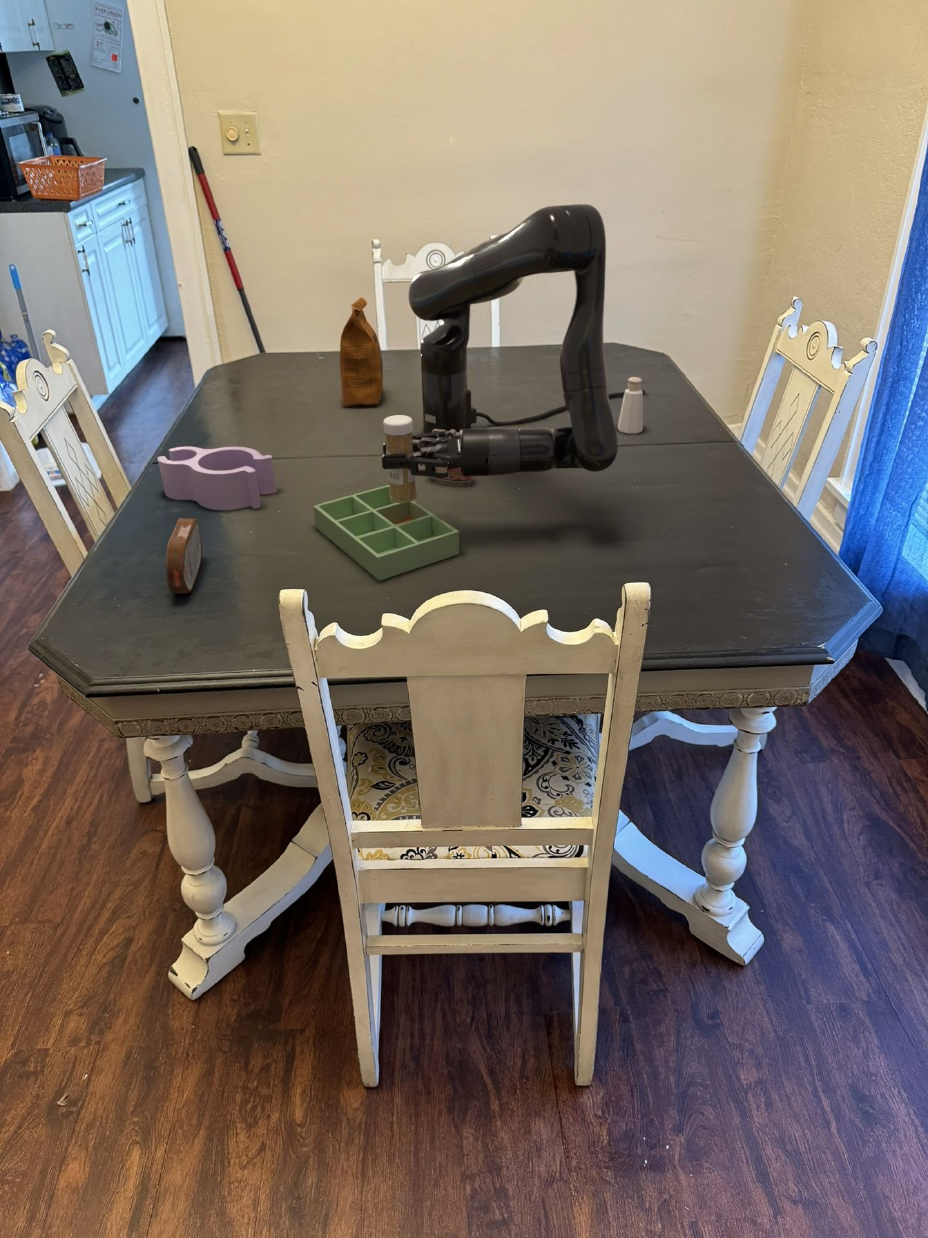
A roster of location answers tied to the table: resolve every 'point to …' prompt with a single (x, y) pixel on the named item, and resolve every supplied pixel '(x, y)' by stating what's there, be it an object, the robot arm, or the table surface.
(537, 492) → the table surface
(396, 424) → the sprinkles bottle
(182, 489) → the clip
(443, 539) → the organizer
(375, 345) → the coffee package
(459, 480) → the lighter
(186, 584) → the tin
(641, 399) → the pepper shaker
